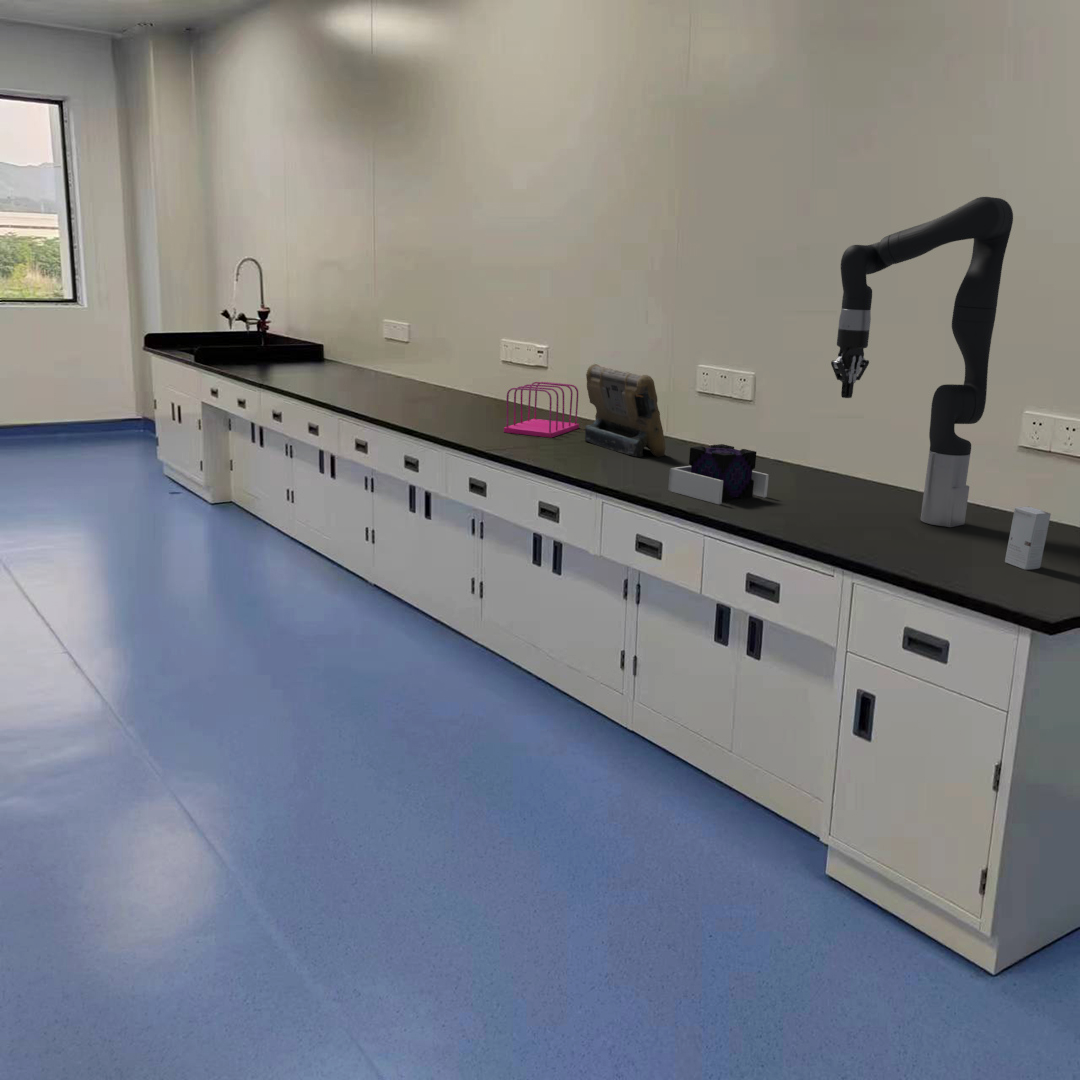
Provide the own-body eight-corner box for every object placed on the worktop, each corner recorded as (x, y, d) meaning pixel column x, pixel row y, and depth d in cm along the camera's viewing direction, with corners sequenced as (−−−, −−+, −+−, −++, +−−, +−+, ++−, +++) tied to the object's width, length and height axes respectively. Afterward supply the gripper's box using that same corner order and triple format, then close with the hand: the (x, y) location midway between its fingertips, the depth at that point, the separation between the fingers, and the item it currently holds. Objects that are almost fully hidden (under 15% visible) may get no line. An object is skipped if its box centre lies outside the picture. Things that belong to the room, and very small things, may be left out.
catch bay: (766, 497, 290) (768, 474, 289) (718, 504, 279) (720, 481, 278) (715, 484, 304) (717, 462, 302) (668, 490, 293) (669, 468, 291)
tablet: (673, 455, 344) (679, 374, 337) (639, 459, 336) (644, 375, 329) (608, 438, 369) (612, 362, 363) (574, 441, 361) (578, 363, 355)
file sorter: (503, 433, 372) (504, 385, 368) (533, 423, 395) (535, 379, 391) (551, 438, 366) (553, 390, 362) (579, 428, 388) (581, 383, 384)
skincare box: (1003, 562, 236) (1012, 506, 233) (1019, 561, 238) (1028, 505, 235) (1026, 570, 231) (1035, 513, 228) (1042, 568, 233) (1051, 512, 230)
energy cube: (720, 502, 283) (724, 455, 280) (686, 492, 292) (690, 447, 289) (752, 497, 290) (756, 451, 287) (718, 488, 299) (722, 444, 296)
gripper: (850, 329, 271) (842, 400, 275) (882, 328, 279) (874, 398, 283) (825, 327, 276) (817, 397, 281) (857, 326, 284) (850, 394, 289)
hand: (846, 397), depth 282 cm, fingers closed
